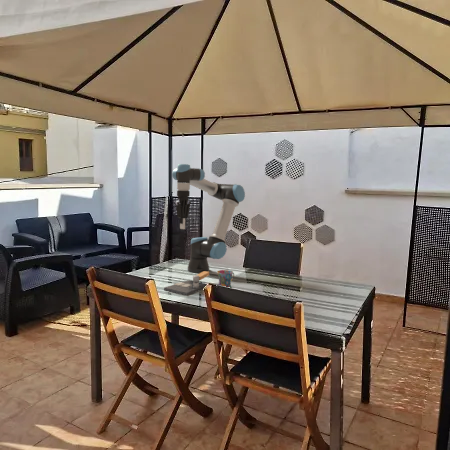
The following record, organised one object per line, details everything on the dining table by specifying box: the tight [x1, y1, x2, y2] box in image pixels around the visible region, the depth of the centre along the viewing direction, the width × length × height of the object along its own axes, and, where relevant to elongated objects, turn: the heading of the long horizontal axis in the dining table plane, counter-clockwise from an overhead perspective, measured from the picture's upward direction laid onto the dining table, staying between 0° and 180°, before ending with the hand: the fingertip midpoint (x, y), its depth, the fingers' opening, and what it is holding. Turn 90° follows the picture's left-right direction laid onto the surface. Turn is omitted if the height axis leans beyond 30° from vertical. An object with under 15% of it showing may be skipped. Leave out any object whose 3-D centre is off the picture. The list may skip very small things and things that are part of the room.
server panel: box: [163, 279, 208, 296], centre depth 221 cm, size 22×16×5 cm
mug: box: [216, 269, 235, 289], centre depth 221 cm, size 12×9×11 cm
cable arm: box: [192, 271, 210, 282], centre depth 224 cm, size 4×17×3 cm, turn 160°
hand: (182, 228), depth 235 cm, fingers closed
